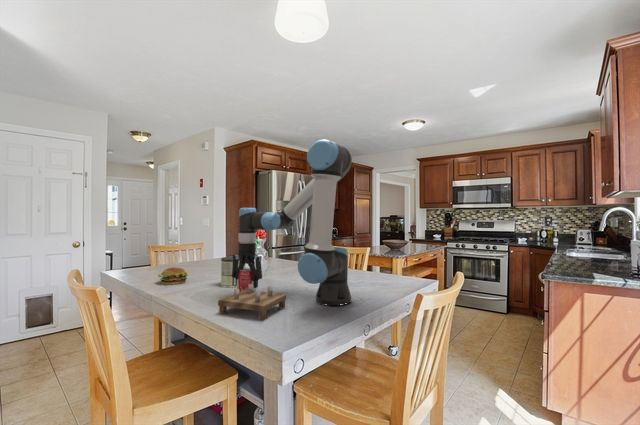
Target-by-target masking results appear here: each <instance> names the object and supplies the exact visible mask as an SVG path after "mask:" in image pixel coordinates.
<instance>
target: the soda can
mask: <svg viewBox="0 0 640 425" xmlns="http://www.w3.org/2000/svg"><path fill="white" fill-rule="evenodd" d="M252 280H253V277H252V274H251V270H250V268H243V269H242V270H241V269H240V272H239V276H238V289H239V292H241V291H244V290H248V284H252Z"/></svg>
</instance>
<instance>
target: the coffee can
mask: <svg viewBox="0 0 640 425" xmlns="http://www.w3.org/2000/svg"><path fill="white" fill-rule="evenodd" d="M220 260H221V262H220V263H221V265H220V266H221V269H220V270H221V271H220V272H221V274H220V276H221V277H220V278H221V280H220V281H221V282H220V286H221V287H222V288H226V289H227V288H237V286H236V279H235V278H234V277H232V268H233V256H226V257H225V256H224V257H221V258H220ZM239 262H240V259H239ZM238 267H239V263H238Z"/></svg>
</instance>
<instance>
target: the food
mask: <svg viewBox="0 0 640 425" xmlns="http://www.w3.org/2000/svg"><path fill="white" fill-rule="evenodd" d="M157 276H158V278H159V279H160V283H161V284H162V285H165V284H166V285H168V286H169V285H171V286H172V285H173V284H175V285H179V284H180V285H181V284H183V283H184V284H185V283H186V281H187V279H188V278H187V277H188V272H187V271H185V269H184V268H182V267H176V266H175V267H169V268H166V269H164V270H163V271H162V272H161V273H160V274H157ZM166 285H165V286H166ZM173 286H174V285H173Z"/></svg>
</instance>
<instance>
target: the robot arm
mask: <svg viewBox="0 0 640 425" xmlns="http://www.w3.org/2000/svg"><path fill="white" fill-rule="evenodd" d="M352 158H353V157H352V154H351V152H350V151H349V150H348V149H347V148H346V147H344V146H342V145H341V144H338V143H336V142H335V141H333V140H329V139H324V138H323V139H318V140H317V141H314V143H313V144H311V146H310V147H308V151H307V154H306V160H307V163H308V164H309V166H310V168H311V170H310V171H311V172H310V176H311V177H312V179H311V180H310V181H309V182H308V183H307V184H306V185H305V186H304V187H303V188H302V190H300V191H299V192H298V193H297V194H296V195H295V196H294V197H293V198H292V200H290V201H289V202H288V204H286V205H285V207H284V208H283V209H282V210H280V211H279V212H272V211H271V212H270V211H267V212H266V211H264V212H257V208H256V207H241V208H240V209H239V211H238V212H239V213H238V241H237V242H239V243H238V244H237V248H238V249H237V250H238V254H233V255H232V257H233V268H232V277H234V278H235V279H236V286H237V287H236V289H238V276H239V272H240V269H241V270H242V269H245V265H246V264H247V266H248V267H249V269H250V270H251V274H252V277H253V280H252V284H253V291H257V288H258V287H259V281H260V280H261V279H263V272H262V260H263V259H262V256H261V255H260V256H258V255H256V250H257V245H256V241H257V230H260V231H261V230H262V231H264V230H265V231H274V230H287V229H291V228H293V227H294V226H295V224H296V220H297V219H298V218H299V217H300V216H301V215H302V214H303V213H304V212H305V211H306V210H308V208H309V207H311V216H310V229H309V239H308V240H309V241H308V243H306V244H305V245H304V250H303V251H304V252H303V254H302V255H301V257H299V259H298V261H297V270H298V274H299V276H300V277H301V278H302V279H303V281H305V282H307V283H308V284H312V285H315V284H319V285H318V288H317V291H316V294H315V302H316V303H317V304H319V303H320V305H322V304H327V305H340V304H345V303H349V302H350V301H351V302H352V294H351V292H350V287H349V285H348V284H349V283H348V275H349V274H348V270H349V269H348V268H349V267H348V263H349V255H348V249H347V248H346V247H341V246H338V247H336V246H333V244H332V240H333V239H332V238H333V230H334V229H333V227H334V217H335V216H334V215H335V206H336V205H335V204H336V193H337V183H339V182H340V181H341V180H342V179H343V178H344V177H345V176H346V174H348V172H349V171H350V169H351V167H352V162H353V159H352ZM311 205H312V206H311ZM239 259H240V262H239ZM238 263H239V267H238ZM327 305H326V306H327Z"/></svg>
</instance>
